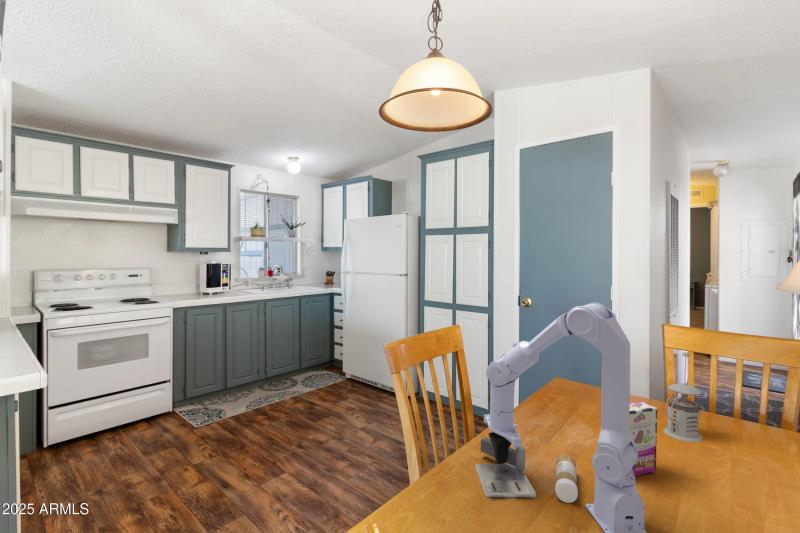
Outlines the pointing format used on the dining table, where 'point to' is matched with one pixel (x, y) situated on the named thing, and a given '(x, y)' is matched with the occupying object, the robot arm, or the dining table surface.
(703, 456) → the dining table surface
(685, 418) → the french press
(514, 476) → the chassis plate
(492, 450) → the grey knobbed handle
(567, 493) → the sprinkles bottle
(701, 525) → the dining table surface
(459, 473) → the dining table surface
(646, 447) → the candy bar box
